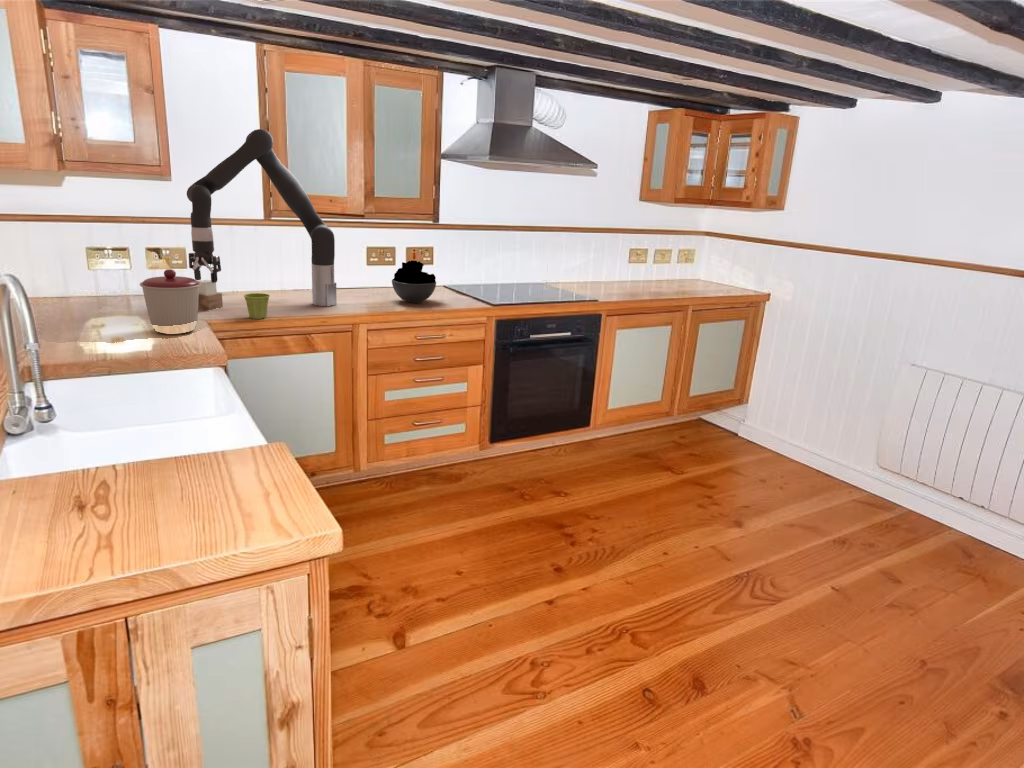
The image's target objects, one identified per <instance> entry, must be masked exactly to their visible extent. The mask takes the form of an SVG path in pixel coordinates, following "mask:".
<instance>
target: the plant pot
mask: <svg viewBox="0 0 1024 768" xmlns="http://www.w3.org/2000/svg"><path fill="white" fill-rule="evenodd" d="M270 296H271V295H270V294H269V293H261V292H255V293H254V292H251V293H250V292H249V293H245V294H243V298H244V300H245V301H246V302H245V303H246V307H247V311H248V316H249V318H250V319H253V320H261V319H266V318H267V316H268V304H269V301H270Z"/></svg>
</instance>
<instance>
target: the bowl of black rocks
mask: <svg viewBox="0 0 1024 768" xmlns="http://www.w3.org/2000/svg"><path fill="white" fill-rule="evenodd" d="M424 265H425V264H424V263H422V262H421V261H420V260H419V261H417V260H408V261H407V262H403V261H402V262H401V267H399V268H398V269H397V270H396V272H395V273H394V275H393V279H391V285H392V288H393V290H394V293H396V295H397V296H398V297H399V298H400V299H401V300H402V301H405V302H408V303H410V302H411V304H417V303H422V302H425V301H426V300H428V299H429V298H430V297H431V296H432V295H433V293H434V292H435V289H436V288H437V287H436V286H437V281H436V276H435V273H431V274H429V273H428V272H425V271H423V268H424Z"/></svg>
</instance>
